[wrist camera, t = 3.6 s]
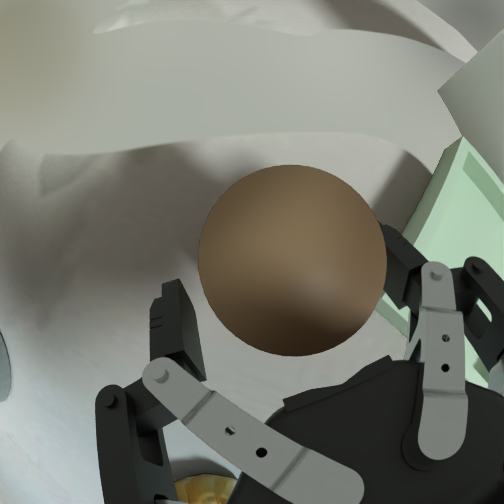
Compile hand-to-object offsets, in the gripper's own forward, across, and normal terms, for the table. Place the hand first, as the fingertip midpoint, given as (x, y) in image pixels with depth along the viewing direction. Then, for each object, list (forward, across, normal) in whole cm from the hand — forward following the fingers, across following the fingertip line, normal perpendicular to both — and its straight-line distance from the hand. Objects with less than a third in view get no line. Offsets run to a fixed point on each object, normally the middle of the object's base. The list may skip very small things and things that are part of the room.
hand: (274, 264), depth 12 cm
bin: (0, -17, +8) cm, 19 cm away
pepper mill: (+4, 0, +4) cm, 6 cm away
